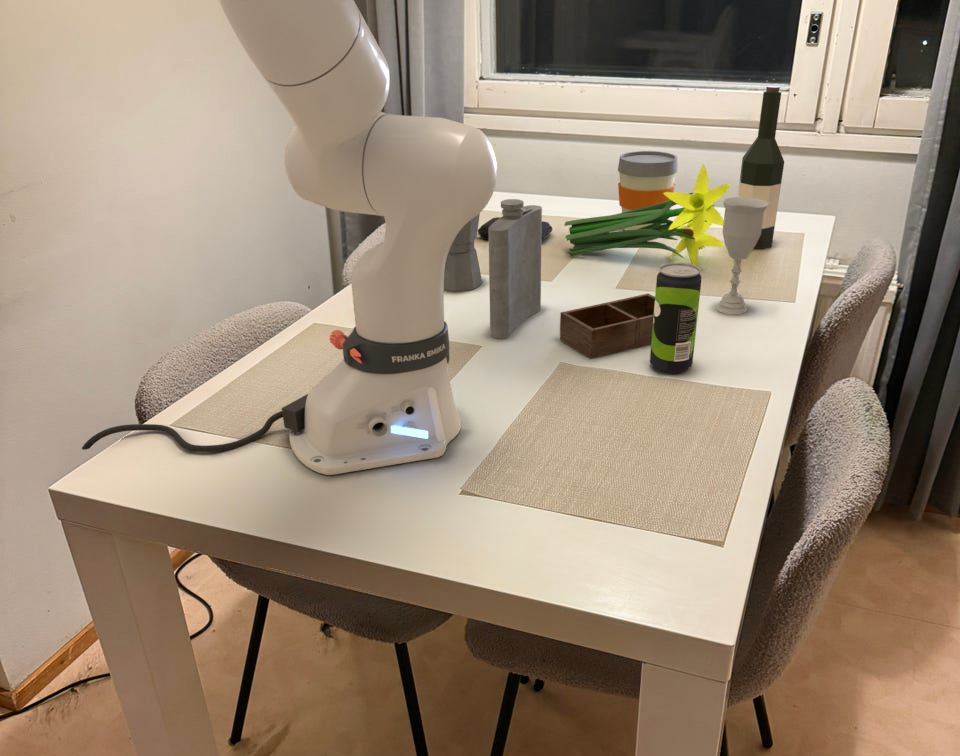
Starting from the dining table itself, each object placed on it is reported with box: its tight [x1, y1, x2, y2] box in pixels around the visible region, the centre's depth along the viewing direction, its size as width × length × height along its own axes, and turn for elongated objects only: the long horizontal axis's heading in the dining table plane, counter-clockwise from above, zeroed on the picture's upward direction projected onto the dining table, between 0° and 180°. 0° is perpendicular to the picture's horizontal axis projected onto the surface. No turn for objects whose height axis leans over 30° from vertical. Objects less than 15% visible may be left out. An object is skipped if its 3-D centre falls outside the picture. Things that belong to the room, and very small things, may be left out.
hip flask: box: [488, 198, 543, 340], centre depth 146 cm, size 16×4×20 cm, turn 154°
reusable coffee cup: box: [617, 150, 679, 231], centre depth 193 cm, size 13×13×15 cm
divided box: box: [559, 293, 655, 360], centre depth 143 cm, size 17×9×5 cm, turn 118°
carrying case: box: [477, 216, 553, 242], centre depth 193 cm, size 11×3×15 cm
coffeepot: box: [444, 212, 483, 293], centre depth 164 cm, size 15×9×18 cm, turn 176°
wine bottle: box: [737, 85, 785, 250], centre depth 178 cm, size 8×8×30 cm
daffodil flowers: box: [564, 164, 731, 267], centre depth 173 cm, size 17×15×35 cm
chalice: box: [715, 196, 769, 315], centre depth 149 cm, size 7×7×18 cm
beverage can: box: [649, 262, 703, 375], centre depth 130 cm, size 6×6×15 cm
